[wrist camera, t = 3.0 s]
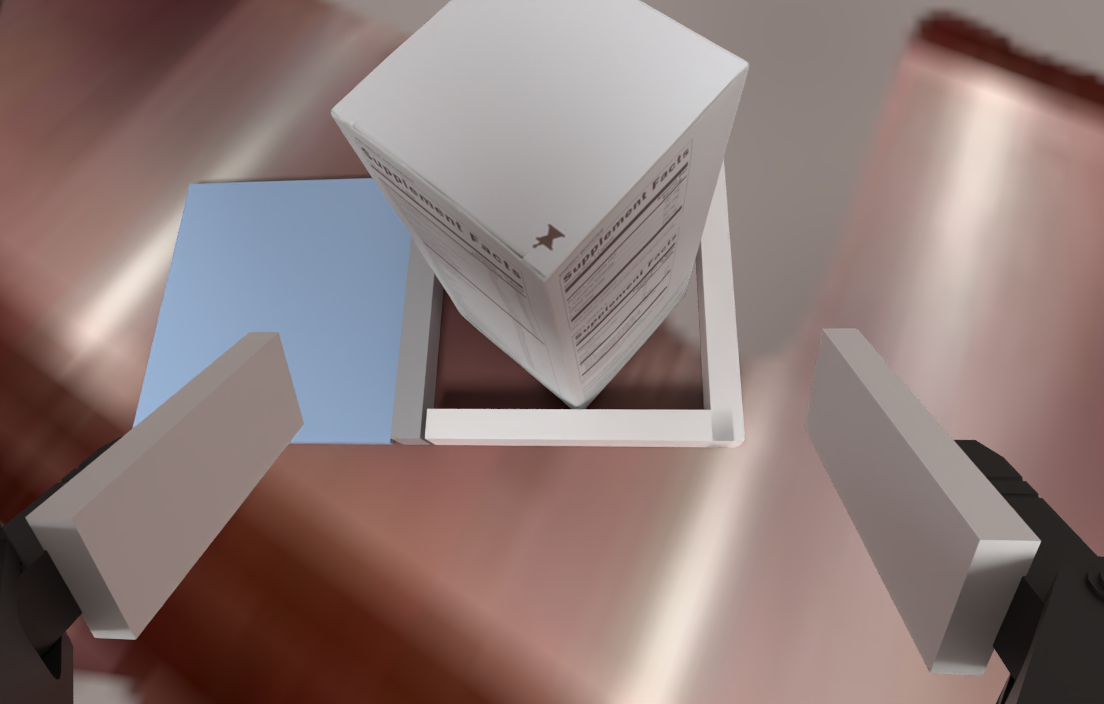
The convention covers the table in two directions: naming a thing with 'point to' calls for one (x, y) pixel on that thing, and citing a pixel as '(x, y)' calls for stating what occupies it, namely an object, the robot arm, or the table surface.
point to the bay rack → (388, 323)
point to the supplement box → (552, 170)
